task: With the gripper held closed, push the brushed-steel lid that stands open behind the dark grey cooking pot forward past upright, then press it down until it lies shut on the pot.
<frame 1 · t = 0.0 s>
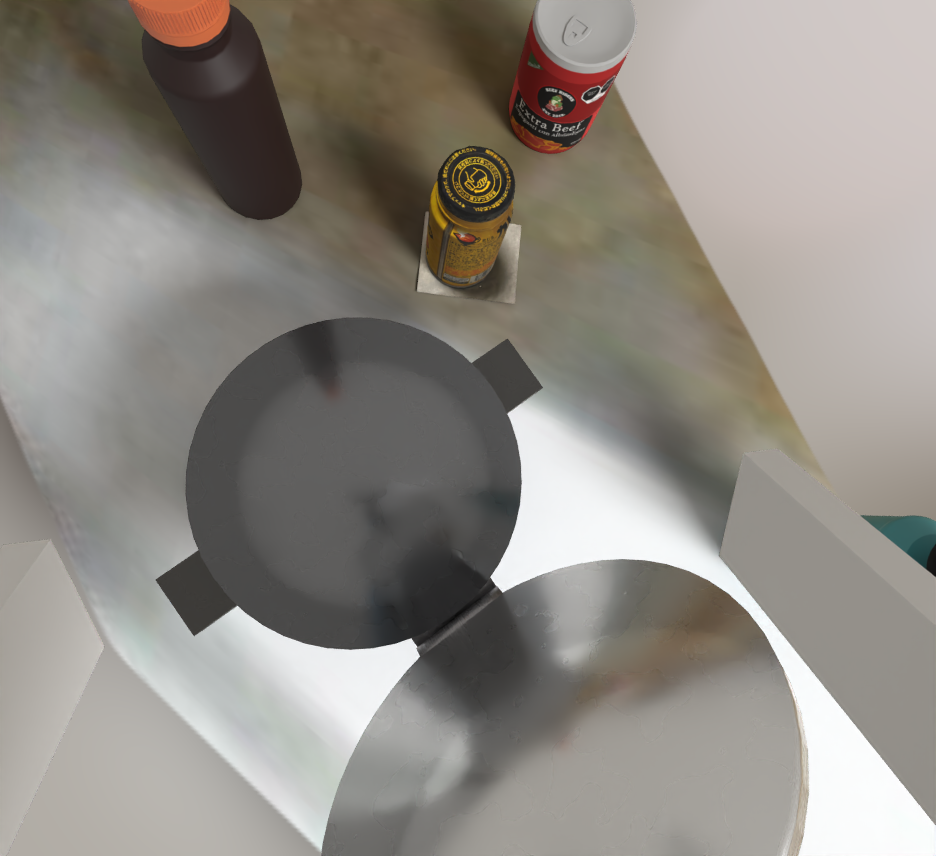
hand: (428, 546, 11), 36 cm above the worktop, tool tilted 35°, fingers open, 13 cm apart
canned food: (548, 118, 53), on the worktop
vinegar: (262, 185, 49), on the worktop
lid: (540, 748, 25), point 21 cm above the worktop, hinge at 108.0°
pot: (369, 483, 47), on the worktop
condiment: (469, 259, 50), on the worktop
beverage bottle: (760, 547, 50), on the worktop
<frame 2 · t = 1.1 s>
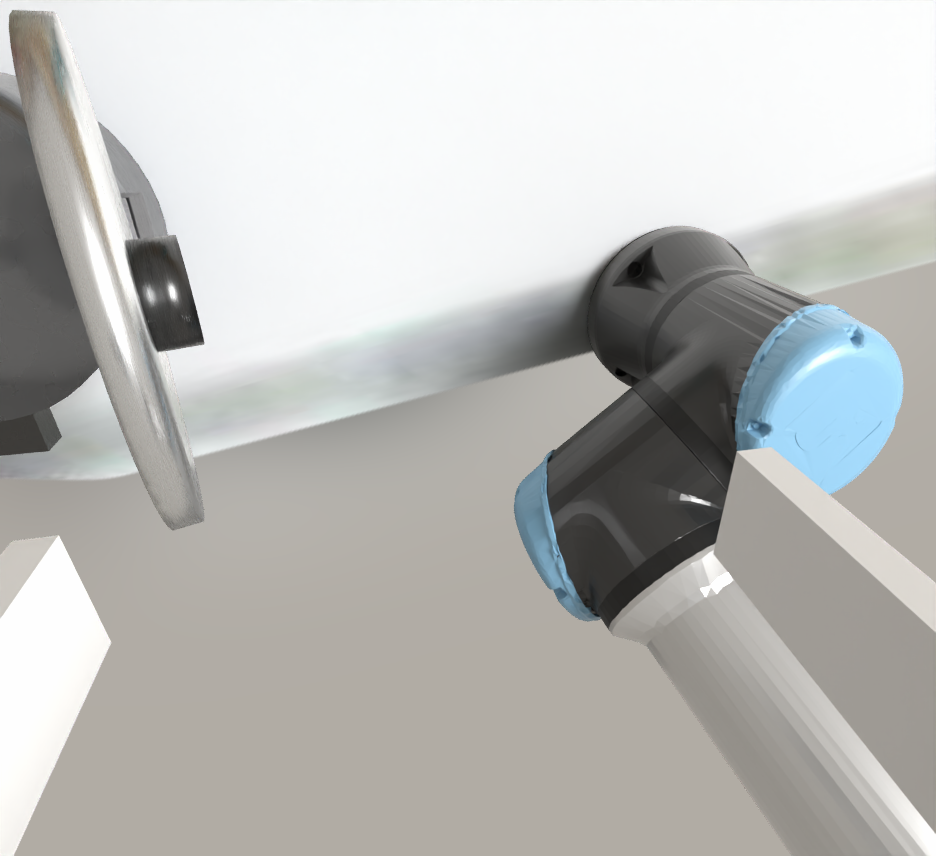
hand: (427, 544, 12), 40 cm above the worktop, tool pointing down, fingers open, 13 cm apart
lid: (149, 294, 27), point 21 cm above the worktop, hinge at 108.0°
pot: (21, 227, 43), on the worktop
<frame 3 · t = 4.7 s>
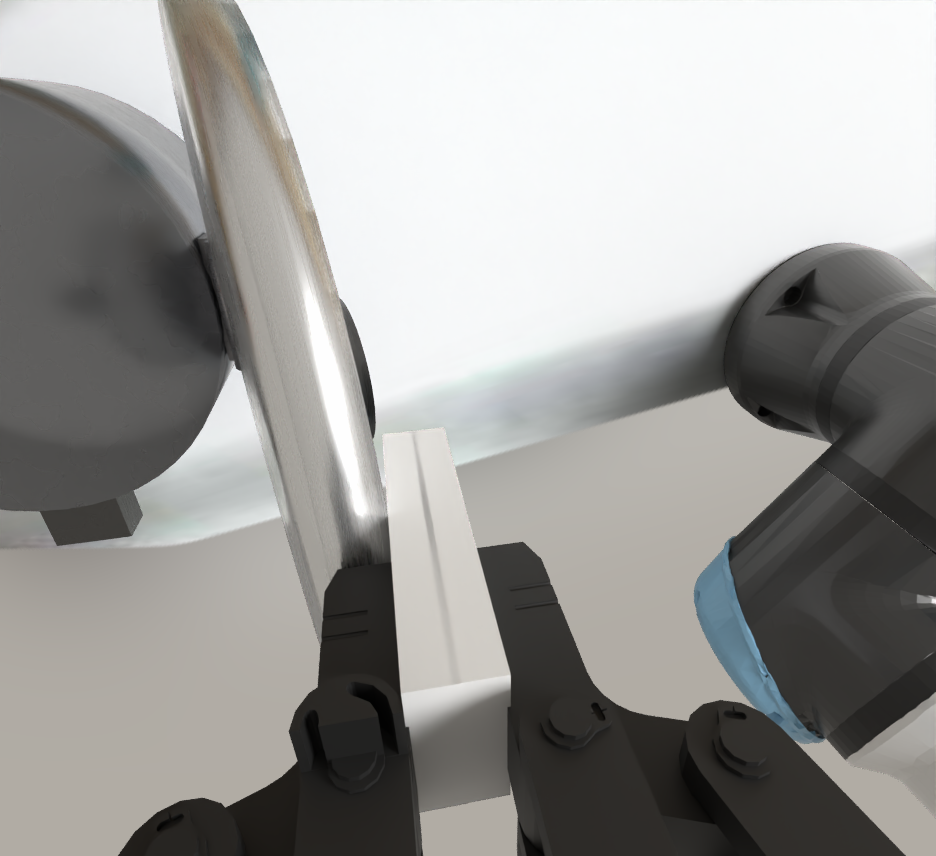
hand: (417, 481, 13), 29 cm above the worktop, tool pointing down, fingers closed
lid: (299, 377, 20), point 21 cm above the worktop, hinge at 106.2°, touching gripper
pot: (90, 266, 36), on the worktop
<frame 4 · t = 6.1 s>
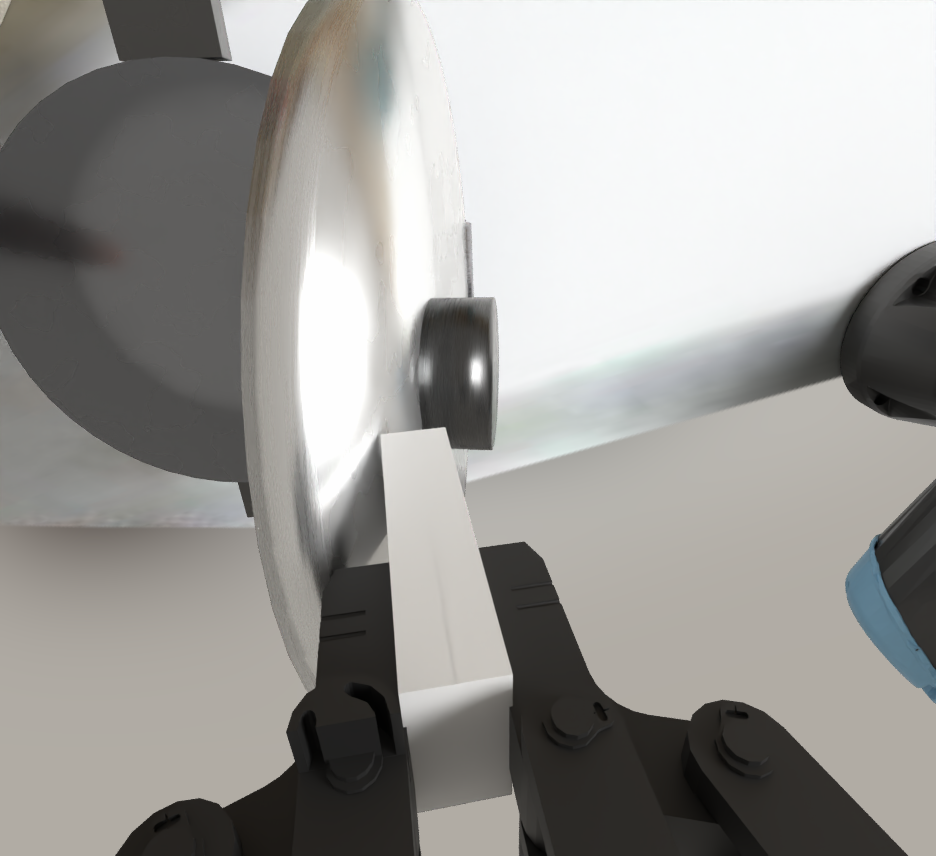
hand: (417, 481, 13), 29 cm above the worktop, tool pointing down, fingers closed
lid: (444, 369, 20), point 22 cm above the worktop, hinge at 74.6°, touching gripper
pot: (264, 252, 38), on the worktop
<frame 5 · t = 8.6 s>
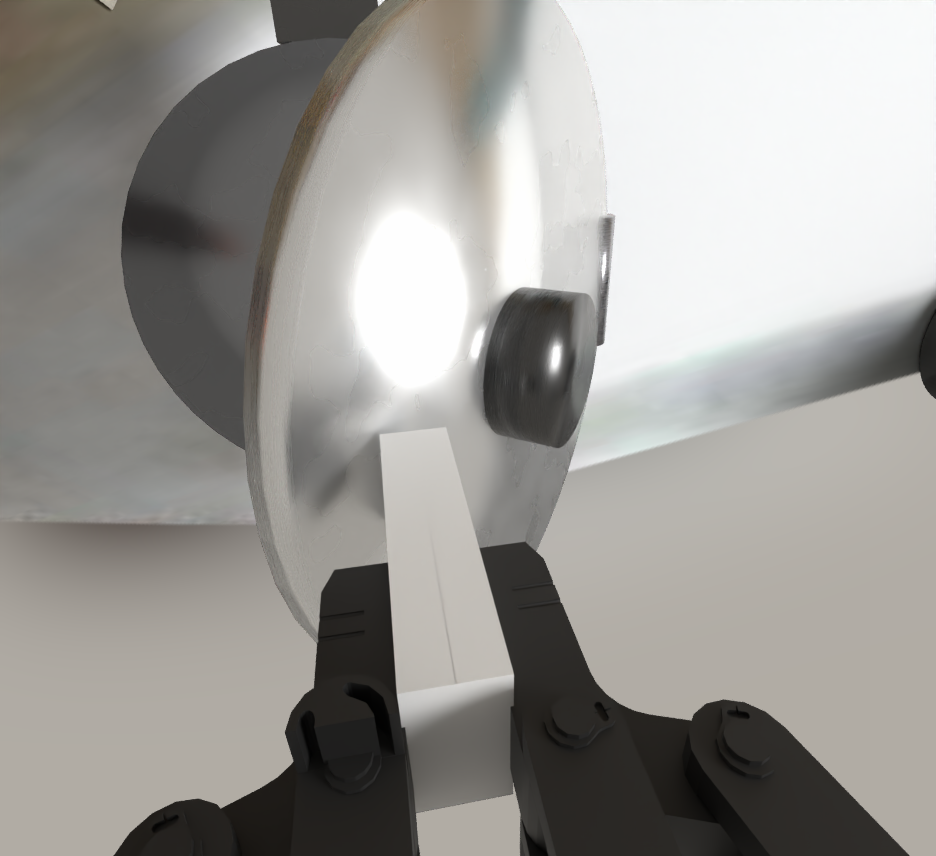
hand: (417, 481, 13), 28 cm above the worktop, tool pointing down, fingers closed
lid: (529, 360, 20), point 21 cm above the worktop, hinge at 53.1°, touching gripper
pot: (361, 244, 37), on the worktop
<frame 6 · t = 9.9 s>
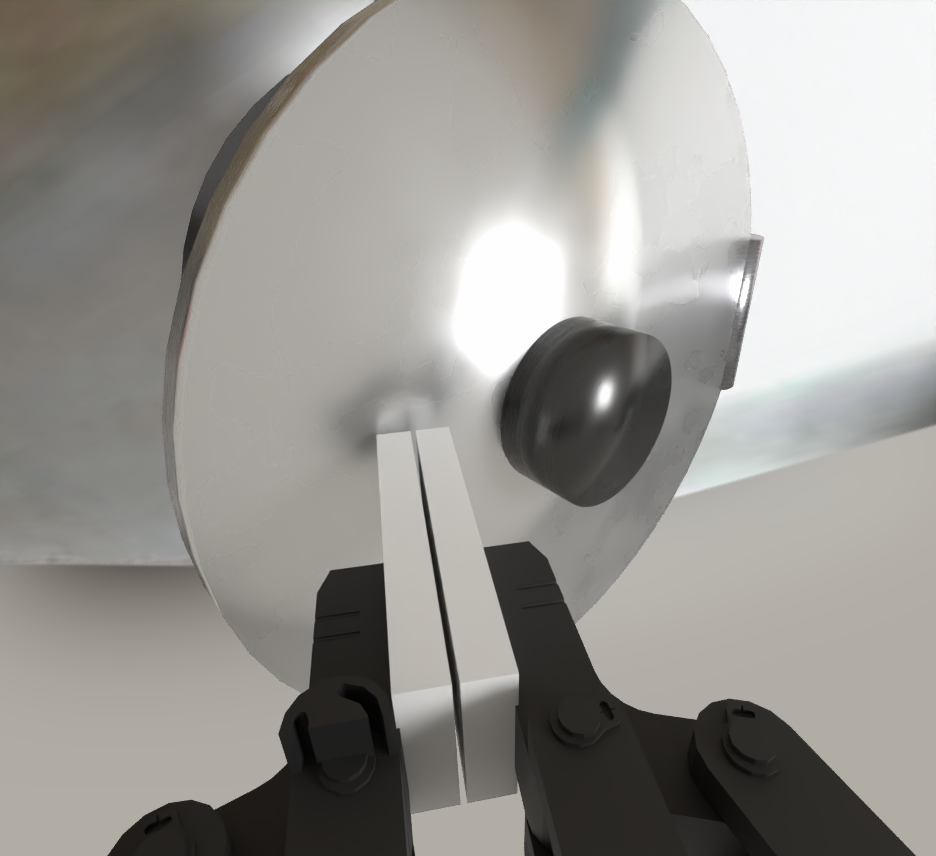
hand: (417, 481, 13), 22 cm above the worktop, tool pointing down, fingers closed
lid: (579, 399, 17), point 19 cm above the worktop, hinge at 31.7°, touching gripper
pot: (430, 262, 33), on the worktop
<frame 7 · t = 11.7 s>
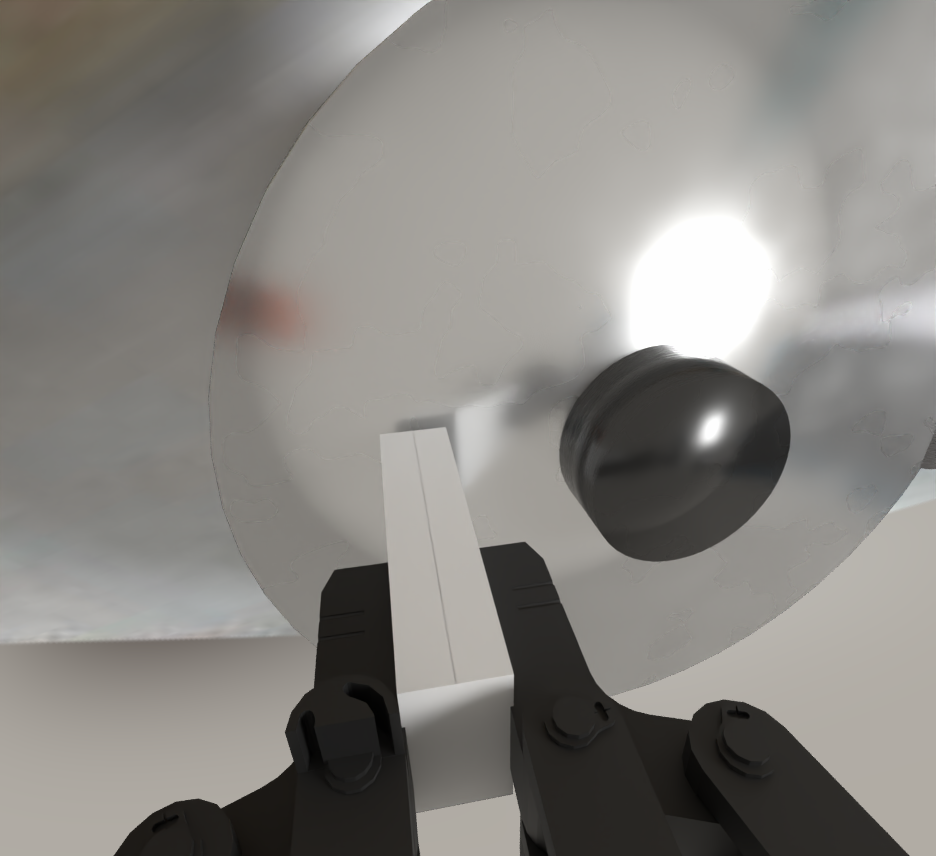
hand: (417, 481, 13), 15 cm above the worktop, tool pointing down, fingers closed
lid: (669, 438, 15), point 14 cm above the worktop, hinge at 5.2°, touching gripper
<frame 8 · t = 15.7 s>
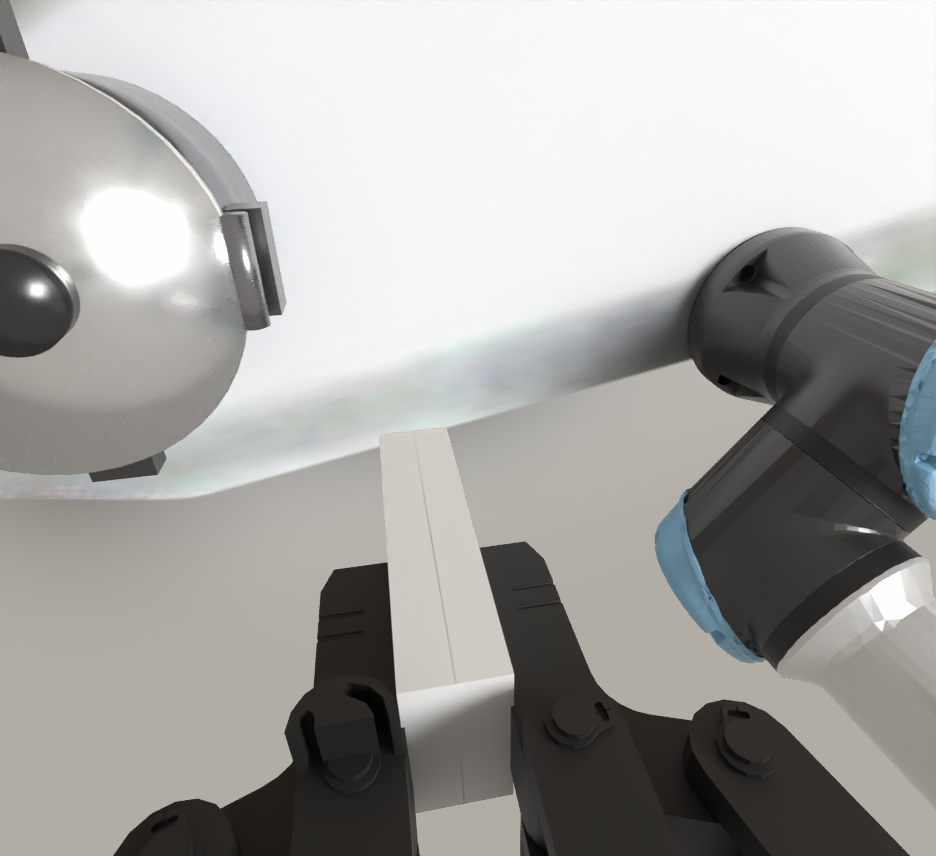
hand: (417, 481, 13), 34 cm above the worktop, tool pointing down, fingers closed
lid: (28, 296, 28), point 14 cm above the worktop, hinge at 4.8°
pot: (119, 239, 41), on the worktop
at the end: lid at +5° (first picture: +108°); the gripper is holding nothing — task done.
